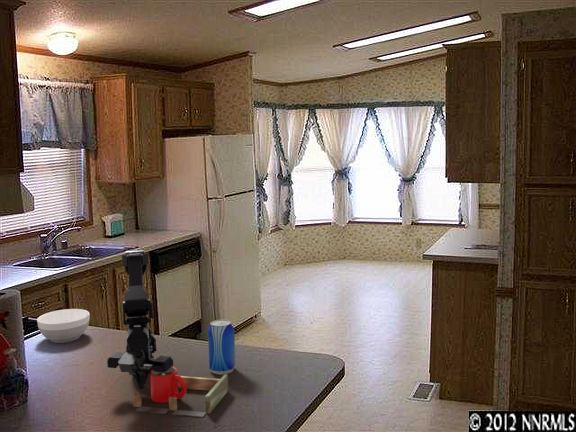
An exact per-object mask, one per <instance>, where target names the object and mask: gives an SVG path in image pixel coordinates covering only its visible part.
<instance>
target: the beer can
mask: <svg viewBox="0 0 576 432" xmlns="http://www.w3.org/2000/svg"><path fill="white" fill-rule="evenodd" d="M209 324H210V325H209V327H208V328H207V343H208V344H207V345H208V365H209V367H208V368H209V370H210V371H211V372H212V374H215V375H222V376H223V375H229V374H230V373H232V372H233V371H234V370H235V368H236V346H235V345H236V344H235V328H234V326H233V324H232V321H231V320H229V319H216V320H213V321H211V322H210V323H209Z"/></svg>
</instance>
